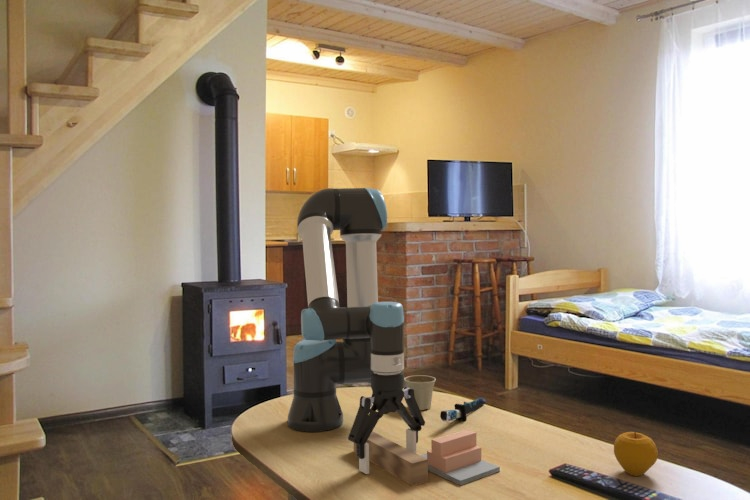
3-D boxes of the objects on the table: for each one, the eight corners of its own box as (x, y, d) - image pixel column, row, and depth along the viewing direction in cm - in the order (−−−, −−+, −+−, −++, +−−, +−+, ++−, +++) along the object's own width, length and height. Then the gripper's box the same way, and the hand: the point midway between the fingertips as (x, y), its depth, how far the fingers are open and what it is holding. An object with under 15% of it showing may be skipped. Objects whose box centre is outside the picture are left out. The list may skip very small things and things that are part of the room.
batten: (353, 452, 151) (353, 431, 151) (367, 449, 154) (367, 428, 153) (412, 487, 131) (412, 463, 131) (427, 482, 133) (427, 459, 133)
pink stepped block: (410, 462, 144) (410, 432, 143) (448, 450, 151) (448, 421, 151) (460, 485, 131) (460, 452, 131) (499, 471, 138) (499, 439, 138)
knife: (444, 428, 163) (445, 411, 164) (433, 426, 165) (434, 409, 165) (493, 411, 188) (494, 396, 188) (484, 410, 190) (485, 395, 190)
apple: (667, 478, 133) (668, 437, 133) (632, 484, 131) (632, 441, 130) (638, 463, 142) (638, 424, 142) (604, 468, 139) (604, 428, 139)
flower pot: (402, 403, 191) (401, 375, 190) (432, 402, 192) (432, 374, 191) (407, 413, 181) (406, 383, 181) (439, 411, 182) (438, 382, 182)
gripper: (351, 383, 131) (352, 484, 132) (439, 366, 146) (440, 456, 147) (331, 376, 137) (333, 473, 138) (418, 360, 152) (419, 447, 153)
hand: (388, 464), depth 142 cm, fingers open, 13 cm apart
